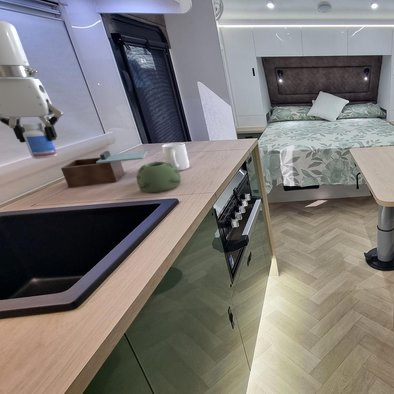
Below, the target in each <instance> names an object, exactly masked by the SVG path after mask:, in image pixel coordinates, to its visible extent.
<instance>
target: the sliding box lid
mask: <svg viewBox="0 0 394 394" xmlns="http://www.w3.org/2000/svg"><path fill="white" fill-rule="evenodd" d="M148 153H149V150H141V151H131V152H130V151H129V152H128V151H127V152H119V153H118V152H117V153H110V151H109V150H105V151H103V152H102V153H101V154H100V155H99V157H101V159H99V160H98V161H97V162H96V163H97V164H98V163H108V162H118V161H121V162H127V161H136V160H137V161H138V160H143V159H144V158H145V157H146V155H147V154H148Z"/></svg>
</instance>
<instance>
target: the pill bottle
mask: <svg viewBox="0 0 394 394" xmlns="http://www.w3.org/2000/svg"><path fill="white" fill-rule="evenodd" d="M21 126H22V127H23V128H24V129H25V132H24V133H23V137H24V139H25V141H26V142H25V144H26V146H27V149H28V151H29V154H30V156H31V157H32V159H36V160H39V159H49V158H54V157H56V156H58V151H57V149H56V147H55V144H54V140H53V141H49V140H48V137H47V135H46V132H45V130H44V127H45V125H44V123H43V122H41V121H39V122H24V123H22V124H21Z"/></svg>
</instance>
